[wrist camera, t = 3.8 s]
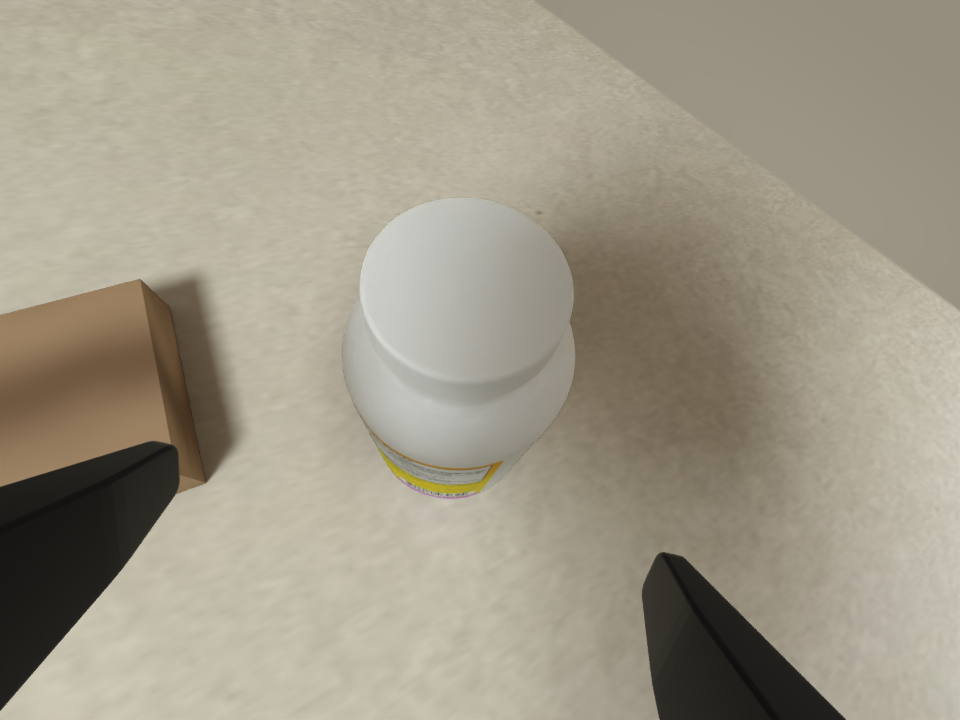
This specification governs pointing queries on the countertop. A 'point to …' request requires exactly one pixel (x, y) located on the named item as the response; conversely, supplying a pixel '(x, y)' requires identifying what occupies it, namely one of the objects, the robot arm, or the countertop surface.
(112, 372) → the walnut block
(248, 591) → the countertop surface
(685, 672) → the robot arm
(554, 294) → the supplement bottle
